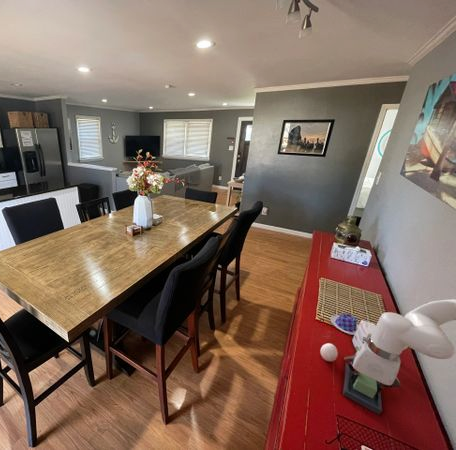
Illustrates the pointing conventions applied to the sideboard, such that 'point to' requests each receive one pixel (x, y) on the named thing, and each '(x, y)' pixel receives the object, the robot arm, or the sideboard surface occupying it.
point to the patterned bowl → (345, 323)
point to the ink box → (362, 333)
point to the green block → (365, 385)
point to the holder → (361, 394)
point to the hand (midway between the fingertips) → (363, 385)
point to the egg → (329, 352)
